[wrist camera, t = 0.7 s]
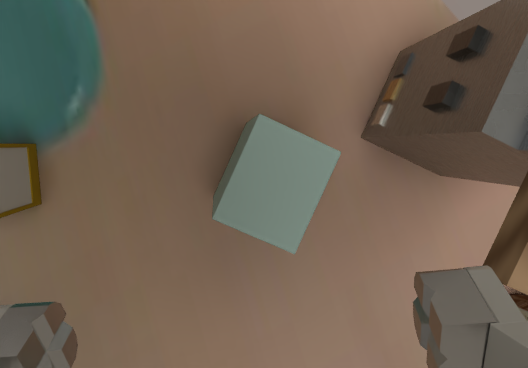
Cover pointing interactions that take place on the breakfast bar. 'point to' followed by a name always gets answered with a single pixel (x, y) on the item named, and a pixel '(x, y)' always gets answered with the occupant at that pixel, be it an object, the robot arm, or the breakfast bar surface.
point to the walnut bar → (513, 244)
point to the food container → (521, 303)
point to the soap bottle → (18, 178)
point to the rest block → (273, 183)
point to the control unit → (461, 99)
